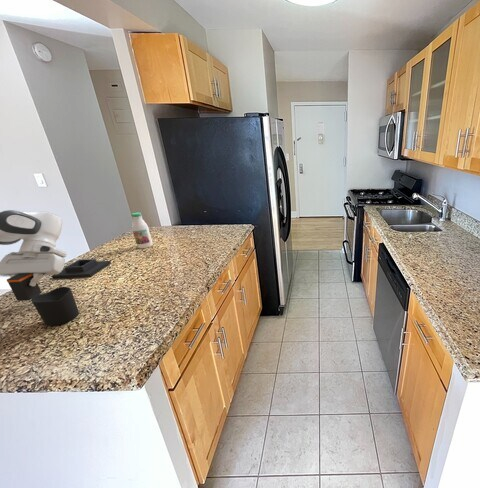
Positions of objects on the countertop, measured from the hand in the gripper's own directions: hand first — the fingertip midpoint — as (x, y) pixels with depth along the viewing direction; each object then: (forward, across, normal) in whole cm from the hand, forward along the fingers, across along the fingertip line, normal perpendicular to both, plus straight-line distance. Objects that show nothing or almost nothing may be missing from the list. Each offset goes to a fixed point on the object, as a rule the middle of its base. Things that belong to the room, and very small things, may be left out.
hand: (22, 286), depth 95 cm
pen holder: (+13, +19, -1) cm, 23 cm away
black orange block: (+3, 0, +4) cm, 5 cm away
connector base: (-14, -2, +26) cm, 29 cm away
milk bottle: (-35, +11, +46) cm, 59 cm away
